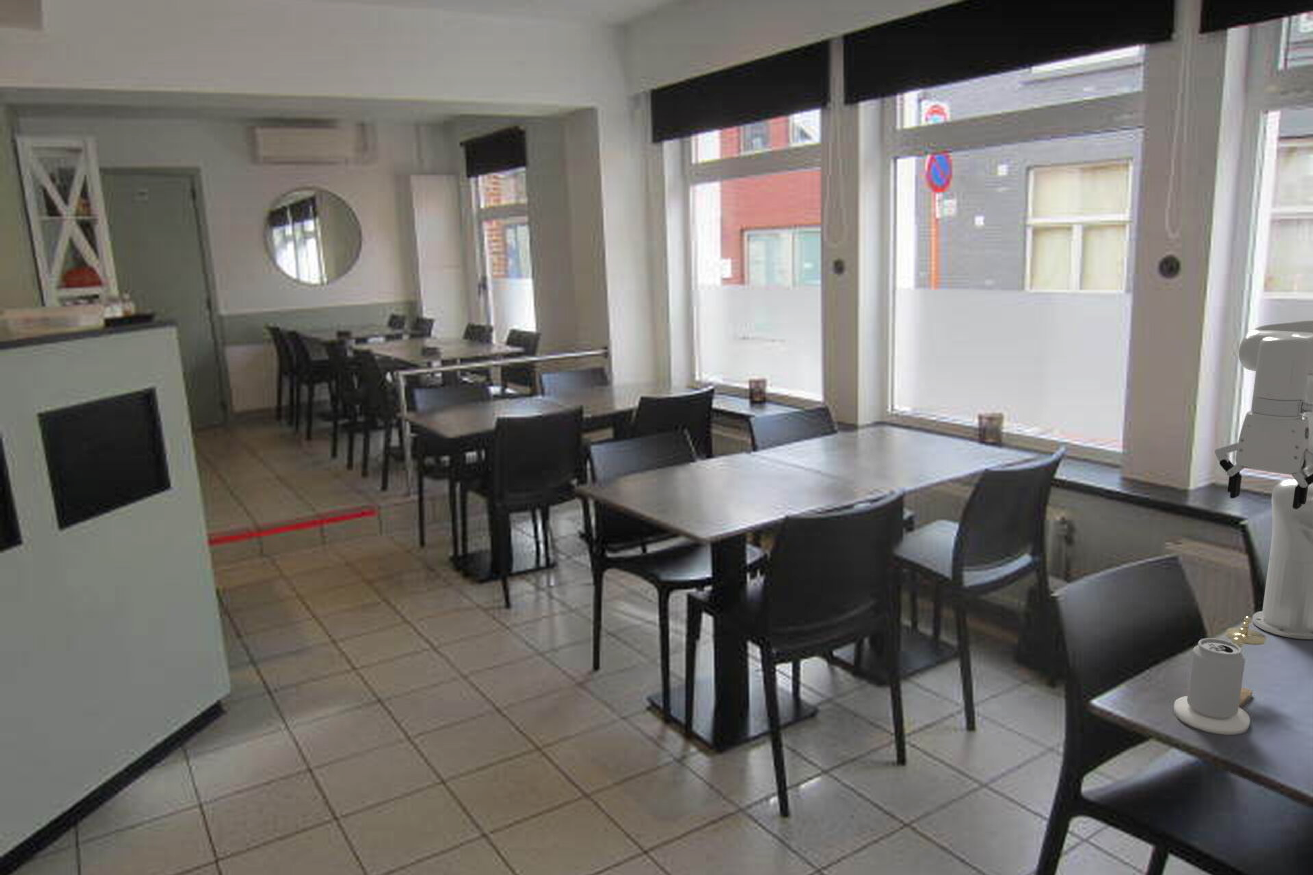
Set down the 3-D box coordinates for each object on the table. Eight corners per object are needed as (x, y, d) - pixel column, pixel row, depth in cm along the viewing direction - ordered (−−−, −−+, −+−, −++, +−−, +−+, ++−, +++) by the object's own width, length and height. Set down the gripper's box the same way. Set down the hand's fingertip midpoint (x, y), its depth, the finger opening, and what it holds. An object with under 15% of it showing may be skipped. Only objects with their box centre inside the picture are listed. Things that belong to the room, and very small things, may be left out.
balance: (1226, 676, 170) (1234, 607, 168) (1263, 687, 166) (1272, 616, 163) (1201, 701, 162) (1209, 629, 159) (1239, 713, 157) (1249, 639, 154)
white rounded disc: (1186, 695, 164) (1187, 689, 163) (1257, 717, 156) (1258, 711, 156) (1163, 717, 156) (1164, 711, 156) (1237, 742, 148) (1238, 735, 148)
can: (1245, 723, 152) (1254, 656, 149) (1196, 720, 153) (1204, 653, 150) (1226, 701, 159) (1234, 636, 156) (1179, 698, 160) (1187, 633, 158)
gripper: (1342, 410, 157) (1328, 507, 160) (1228, 399, 169) (1217, 489, 173) (1331, 416, 152) (1317, 516, 155) (1214, 404, 164) (1204, 497, 168)
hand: (1265, 501), depth 164 cm, fingers open, 9 cm apart
